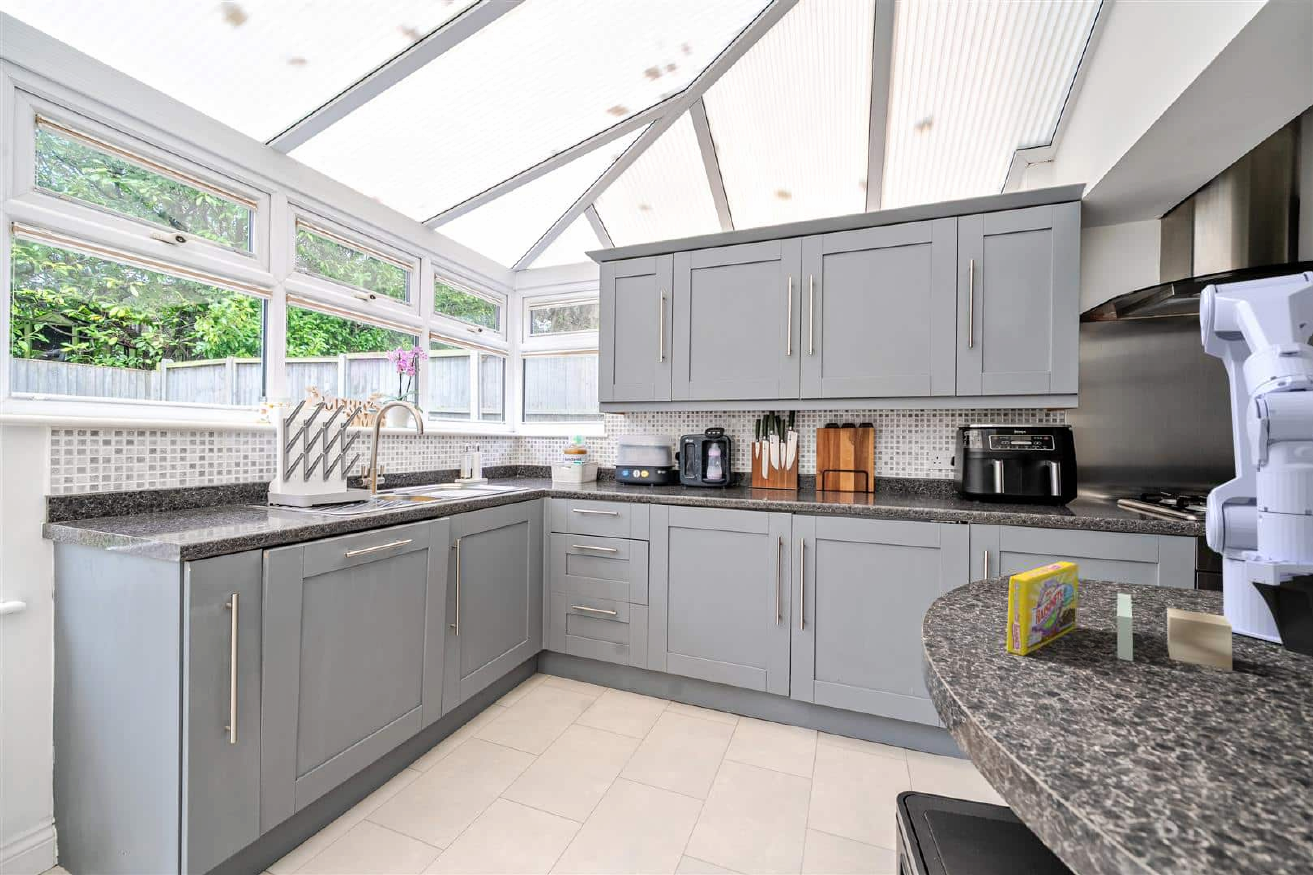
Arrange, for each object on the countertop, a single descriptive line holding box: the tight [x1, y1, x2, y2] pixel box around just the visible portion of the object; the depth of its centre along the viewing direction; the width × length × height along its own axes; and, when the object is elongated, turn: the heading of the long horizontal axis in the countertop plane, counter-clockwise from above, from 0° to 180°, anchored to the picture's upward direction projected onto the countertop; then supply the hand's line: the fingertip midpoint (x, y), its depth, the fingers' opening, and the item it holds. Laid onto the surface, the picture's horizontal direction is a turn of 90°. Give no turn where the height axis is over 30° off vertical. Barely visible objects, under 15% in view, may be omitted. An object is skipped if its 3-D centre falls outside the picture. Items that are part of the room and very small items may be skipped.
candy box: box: [1006, 560, 1079, 657], centre depth 62 cm, size 16×2×8 cm, turn 126°
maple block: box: [1166, 607, 1233, 672], centre depth 57 cm, size 4×4×4 cm
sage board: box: [1116, 592, 1134, 662], centre depth 61 cm, size 1×12×4 cm, turn 139°
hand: (1303, 653), depth 52 cm, fingers closed
